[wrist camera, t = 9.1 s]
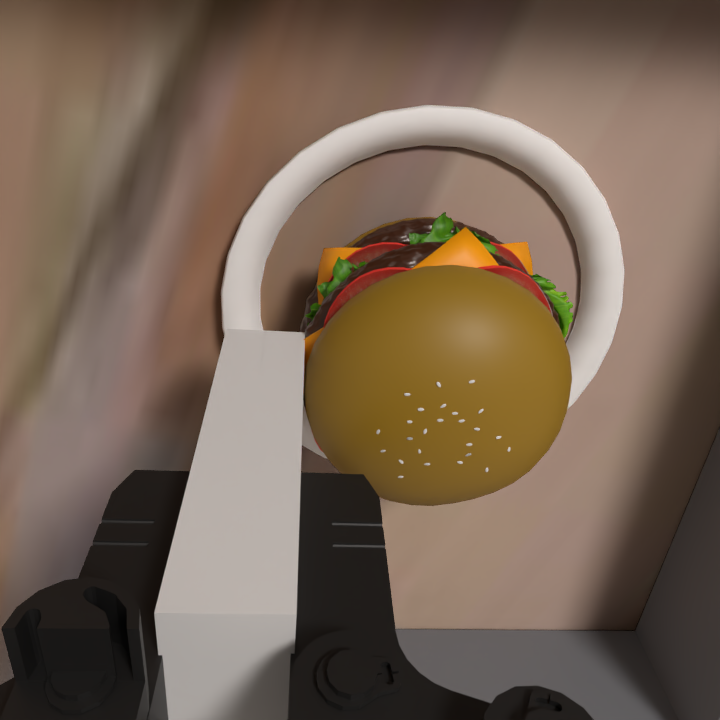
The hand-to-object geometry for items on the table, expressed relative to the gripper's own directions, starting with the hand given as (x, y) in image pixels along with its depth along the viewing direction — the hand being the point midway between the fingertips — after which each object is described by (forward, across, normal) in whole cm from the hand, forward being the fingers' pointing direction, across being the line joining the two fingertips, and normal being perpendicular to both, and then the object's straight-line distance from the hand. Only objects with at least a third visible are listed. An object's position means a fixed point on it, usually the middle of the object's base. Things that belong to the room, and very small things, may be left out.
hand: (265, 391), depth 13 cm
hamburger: (+3, +3, +1) cm, 5 cm away
